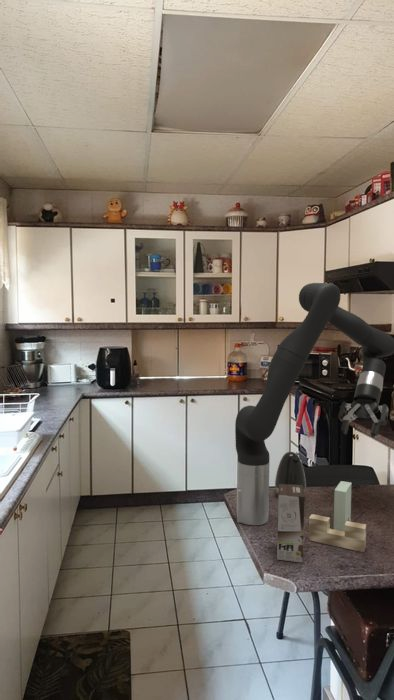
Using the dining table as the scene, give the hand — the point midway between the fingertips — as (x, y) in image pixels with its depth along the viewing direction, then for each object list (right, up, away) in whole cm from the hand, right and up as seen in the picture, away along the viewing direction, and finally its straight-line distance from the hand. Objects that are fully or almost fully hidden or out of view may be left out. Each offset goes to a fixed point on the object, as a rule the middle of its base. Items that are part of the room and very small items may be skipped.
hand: (358, 434), depth 139 cm
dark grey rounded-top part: (-17, -24, +17) cm, 34 cm away
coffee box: (-25, -26, -23) cm, 43 cm away
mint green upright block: (-7, -25, -8) cm, 27 cm away
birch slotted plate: (-12, -25, -18) cm, 33 cm away
